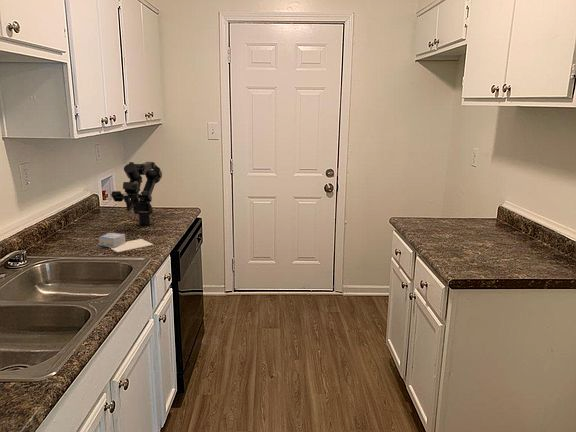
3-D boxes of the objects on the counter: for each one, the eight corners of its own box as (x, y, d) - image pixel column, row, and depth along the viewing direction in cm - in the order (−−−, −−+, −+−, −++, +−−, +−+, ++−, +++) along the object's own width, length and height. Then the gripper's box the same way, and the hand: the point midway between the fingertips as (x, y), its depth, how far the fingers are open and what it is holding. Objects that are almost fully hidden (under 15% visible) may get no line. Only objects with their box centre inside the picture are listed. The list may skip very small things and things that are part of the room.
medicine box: (125, 233, 215) (113, 238, 207) (126, 243, 216) (114, 248, 208) (110, 232, 217) (98, 237, 209) (111, 241, 218) (99, 246, 210)
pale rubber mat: (106, 246, 212) (106, 245, 212) (141, 239, 223) (141, 238, 223) (117, 252, 203) (117, 251, 203) (153, 244, 214) (153, 244, 214)
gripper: (110, 174, 229) (103, 201, 221) (148, 175, 228) (142, 202, 220) (118, 188, 238) (111, 213, 230) (154, 188, 238) (148, 214, 230)
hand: (128, 210), depth 227 cm, fingers closed
